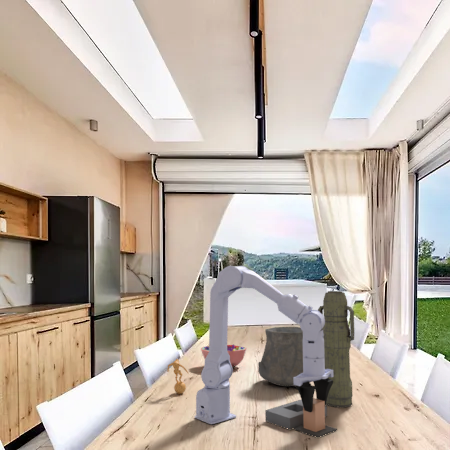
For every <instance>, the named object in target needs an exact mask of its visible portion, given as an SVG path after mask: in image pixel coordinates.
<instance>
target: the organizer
mask: <svg viewBox="0 0 450 450" xmlns="http://www.w3.org/2000/svg"><path fill="white" fill-rule="evenodd" d="M327 406H328V405H326V406H325V418H327V417H328V410H327V409H328V407H327ZM264 415H265V422H266V421H267V422H266V423H269V422H270V423H269V424H272V423H273V424H272V425H275V424H276V425H275V426H278V425H279V426H278V427H280V426H282V427H281V428H283V427H285V428H284V429H286V428H288V429H287V430H289V429H291V430H293V429H292V428H295V427H298V426H301V425H304V421H303V403H302V400H301V399H298V400H295V401H291V402H288V403H285V404H281V405H279V406H275V407H271V408H269V409H265V413H264ZM326 416H327V417H326Z"/></svg>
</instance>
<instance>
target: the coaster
mask: <svg viewBox="0 0 450 450" xmlns="http://www.w3.org/2000/svg"><path fill="white" fill-rule="evenodd" d="M294 429H295V430H294ZM294 429H293V430H294V431H297V430H299V431H301V432H300V433H302V432H304V433H303V434H305V433H307V434H306V435H308V434H310V435H309V436H311V435H313V436H312V437H314V436H316V437H320V436H322V437H324V436H323V435H325V434H327V435H329V434H328V433H330V432H332V433H334V432H337V431H338V428H335V427H333V426H329V425H327V424H325V429H322V430H320V431H317V432H314V431H311V430H309V429H306V428H304V425H301V426H298V427H295V428H294ZM336 430H337V431H336ZM299 431H298V432H299ZM333 431H334V432H333ZM330 434H331V433H330ZM325 436H326V435H325ZM316 437H315V438H316ZM320 438H321V437H320Z"/></svg>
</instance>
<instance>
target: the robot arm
mask: <svg viewBox="0 0 450 450" xmlns="http://www.w3.org/2000/svg"><path fill="white" fill-rule="evenodd" d="M243 288H245V289H254V290H256V292H258V293H260V294H261V295H263V296H264V297H265V298H267V299H269V300H271V301H272V302H273V303H274V304H276V305H277V309H278V312H280V313H281V314H283V315H284V316H285V317H286V318H288V319H290V320H292V322H294V323H295V324H297V325H299V326H300V328H301V329H302V331H303V373H301V374H299V375H298V376H296V377H293V383H294V385H295V386H294V387H295V389H296V390H297V391H298V394H299V397H300V400H302V403H303V407H304V411H308V412H312V409H313V398H314V396H316V398H315V399H319V400H322V401H325V406H327V405H326V401H327V397H328V393H329V391H330V388H331V386H332V384H333V380H332V379H329V377H334V375H333V370H331V369H325V359H324V339H323V336H324V334H323V330H321V329H322V328H323V327H324V325H325V318H324V314H323V315H322V314H321V313H320V311H318V309H313V308H314V307H313V306H311V305H307V304H305V303H304V302H303V301H302V300H300V299H299V296H298V295H297V294H291V293H287V294H284V293H283V292H281V291H280V290H279V289H278V288H277V287H275V286H274V285H272V284H271V283H270V282H268V281H267V280H265V278H263V277H262V276H261V275H259V274H258V273H257V272H255V271H253V270H251V269H249V268H248V267H247V266H244V265H237V266H236V265H234V266H233V265H228V266H225V267H224V268H223V269H222V270H220V271H219V272H218V274H217V278H216V280H215V282H214V283H213V285H212V287H211V289H210V292H209V293H210V295H209V296H210V297H209V299H210V300H209V331H208V332H209V339H208V346H209V353H208V355H207V357H206V359H204V366H203V368H202V370H201V375H200V377H201V381H202V383H203V384H204V386H203V388H201V389H199V390H197V392H196V395H195V402H196V403H195V409H196V410H195V412H196V413H195V415H194V419H197V420H198V421H202V422H205V423H206V424H208V425H214V424H217V423H221V422H225V421H228V420H231V419H235V418H237V415H236V414H233V413H231V395H230V393H231V391H230V390H231V385H230V378H231V377H232V376H233V372H234V369H233V368H234V367H232V365H231V363H230V355H229V354H228V352H227V345H228V330H229V329H228V325H229V324H228V323H229V321H228V320H229V317H228V316H229V297H230V296H231V295H233V294H234V293H235V292H236V291H237V290H239V289H243ZM320 330H321V331H320ZM311 383H313V385H312V384H311ZM315 394H316V395H315Z"/></svg>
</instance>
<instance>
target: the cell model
mask: <svg viewBox="0 0 450 450" xmlns="http://www.w3.org/2000/svg"><path fill="white" fill-rule="evenodd" d="M200 351H201V354H202V356H203V359H204V360H205V359H206V357H207V355H208V353H209V345H207V346H202V347H200ZM246 351H247V347H244V346H240V345H235V344H227V352H228V354H229V355H230V363H231V365H232V368H234V367H237V366H238V365H239V364H240V363H242V361H243V360H244V357H245V354H246Z"/></svg>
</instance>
